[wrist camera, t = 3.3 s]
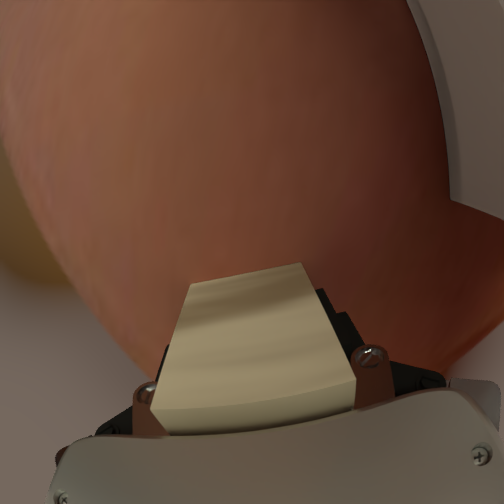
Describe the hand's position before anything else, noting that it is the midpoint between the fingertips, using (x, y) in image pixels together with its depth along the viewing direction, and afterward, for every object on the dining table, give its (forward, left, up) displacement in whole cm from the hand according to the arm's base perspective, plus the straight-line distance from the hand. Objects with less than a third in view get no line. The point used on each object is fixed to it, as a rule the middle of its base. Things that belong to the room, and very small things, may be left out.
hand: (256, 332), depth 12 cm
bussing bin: (-12, +19, -1) cm, 22 cm away
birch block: (0, 0, -1) cm, 1 cm away
